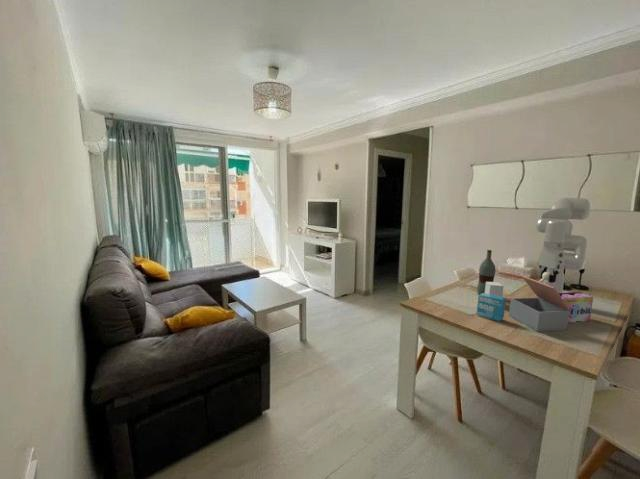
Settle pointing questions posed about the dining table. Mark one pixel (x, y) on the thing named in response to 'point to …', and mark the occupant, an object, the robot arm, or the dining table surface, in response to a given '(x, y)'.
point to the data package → (491, 307)
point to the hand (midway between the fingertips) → (547, 280)
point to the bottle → (486, 273)
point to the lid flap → (546, 291)
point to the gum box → (578, 306)
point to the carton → (539, 314)
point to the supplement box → (494, 289)
